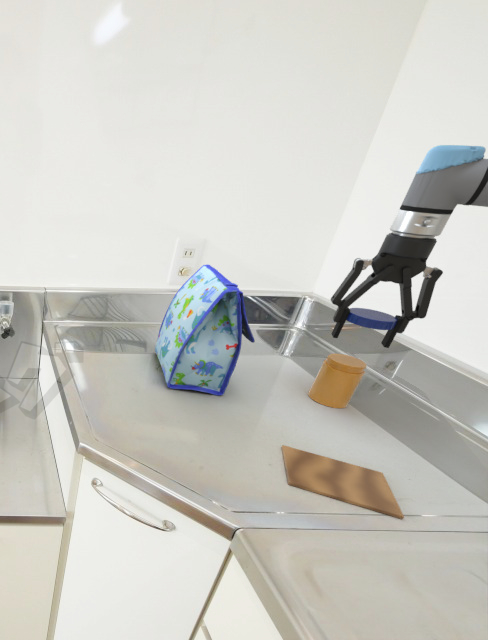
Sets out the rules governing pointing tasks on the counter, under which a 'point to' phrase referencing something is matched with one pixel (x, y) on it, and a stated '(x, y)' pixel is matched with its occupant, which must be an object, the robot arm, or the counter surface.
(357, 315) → the jar lid
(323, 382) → the jam jar
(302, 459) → the wooden cutting board
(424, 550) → the counter surface
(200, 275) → the lunch bag
